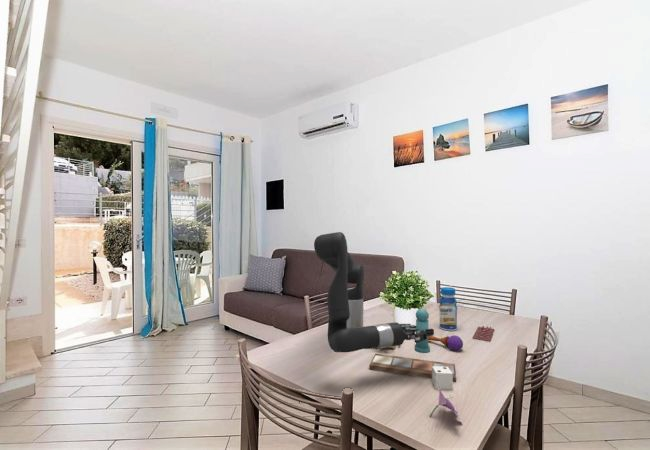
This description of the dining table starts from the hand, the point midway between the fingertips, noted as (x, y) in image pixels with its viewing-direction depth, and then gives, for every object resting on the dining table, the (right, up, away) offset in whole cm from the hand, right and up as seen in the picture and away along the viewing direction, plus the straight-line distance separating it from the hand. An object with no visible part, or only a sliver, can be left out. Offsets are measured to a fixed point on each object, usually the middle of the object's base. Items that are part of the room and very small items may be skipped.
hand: (428, 329), depth 114 cm
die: (+1, -14, -12) cm, 18 cm away
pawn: (-3, -7, -1) cm, 7 cm away
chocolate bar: (+38, -15, +37) cm, 55 cm away
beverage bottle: (+25, -14, +46) cm, 54 cm away
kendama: (+12, -15, +23) cm, 30 cm away
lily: (-5, -14, -29) cm, 32 cm away
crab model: (-12, -15, +22) cm, 29 cm away
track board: (-6, -14, 0) cm, 15 cm away
